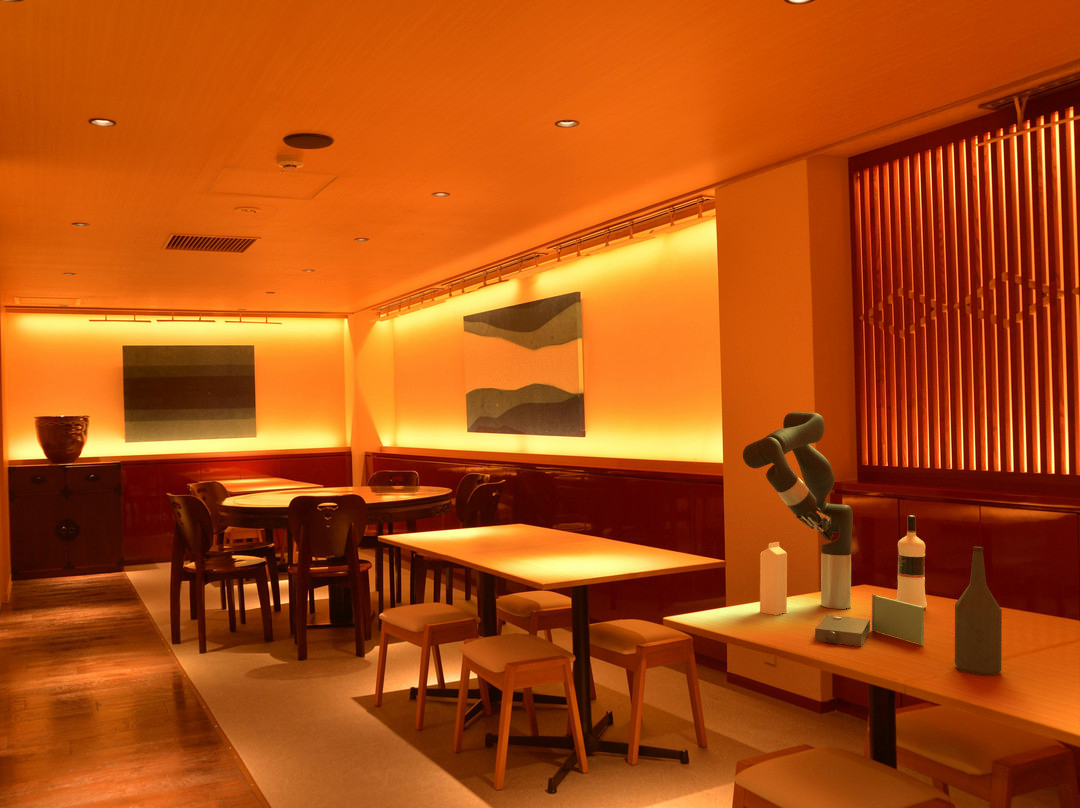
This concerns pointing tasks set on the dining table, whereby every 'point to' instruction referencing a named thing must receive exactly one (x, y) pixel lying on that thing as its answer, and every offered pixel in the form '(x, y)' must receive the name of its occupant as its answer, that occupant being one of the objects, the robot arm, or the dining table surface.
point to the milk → (773, 580)
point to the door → (898, 619)
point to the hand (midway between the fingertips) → (830, 537)
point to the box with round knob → (842, 630)
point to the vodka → (911, 567)
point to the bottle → (978, 624)
